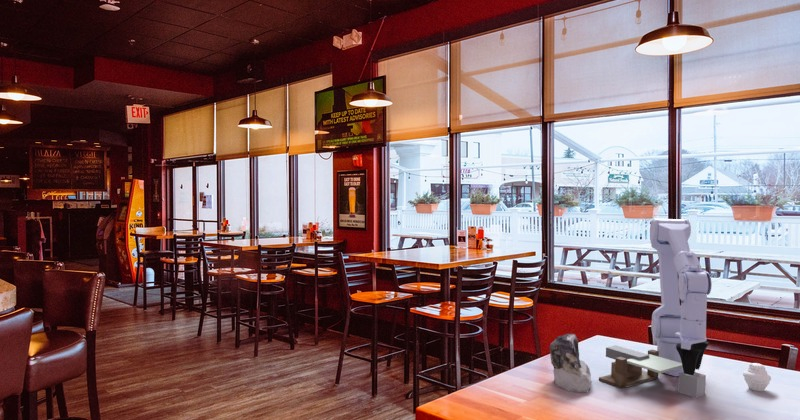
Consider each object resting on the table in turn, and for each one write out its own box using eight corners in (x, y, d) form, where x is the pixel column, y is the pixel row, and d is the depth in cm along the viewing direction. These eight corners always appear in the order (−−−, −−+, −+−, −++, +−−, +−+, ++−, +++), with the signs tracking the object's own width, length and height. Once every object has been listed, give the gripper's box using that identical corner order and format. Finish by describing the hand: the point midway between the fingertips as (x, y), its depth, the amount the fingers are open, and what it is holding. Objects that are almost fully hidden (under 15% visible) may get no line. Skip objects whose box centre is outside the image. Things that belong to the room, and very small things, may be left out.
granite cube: (687, 389, 140) (687, 370, 140) (705, 394, 136) (705, 375, 136) (678, 392, 137) (679, 373, 137) (696, 398, 134) (697, 378, 134)
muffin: (746, 383, 145) (746, 357, 145) (773, 389, 140) (773, 363, 140) (739, 389, 140) (740, 362, 140) (767, 395, 136) (768, 368, 136)
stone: (603, 399, 136) (583, 350, 133) (566, 411, 138) (545, 364, 135) (590, 368, 149) (570, 323, 146) (556, 380, 151) (536, 336, 148)
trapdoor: (623, 352, 154) (623, 343, 154) (685, 371, 139) (685, 361, 139) (598, 358, 149) (598, 349, 149) (659, 378, 133) (660, 367, 133)
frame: (635, 370, 154) (636, 345, 154) (658, 378, 148) (658, 351, 148) (598, 380, 145) (599, 353, 145) (621, 388, 140) (622, 359, 139)
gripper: (683, 311, 145) (682, 361, 145) (668, 320, 134) (666, 374, 134) (713, 315, 140) (711, 367, 140) (700, 325, 129) (698, 381, 129)
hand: (691, 371), depth 137 cm, fingers open, 5 cm apart
